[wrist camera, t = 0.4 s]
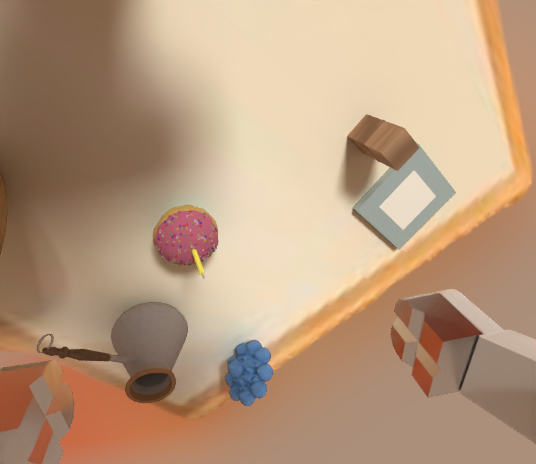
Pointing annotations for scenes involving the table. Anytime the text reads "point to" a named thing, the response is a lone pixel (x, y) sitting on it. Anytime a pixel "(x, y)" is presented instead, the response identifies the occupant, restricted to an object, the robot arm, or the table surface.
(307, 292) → the table surface
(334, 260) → the table surface
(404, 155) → the walnut block
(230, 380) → the grapes
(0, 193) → the plant pot
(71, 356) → the coffee pot
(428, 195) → the plate
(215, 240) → the cupcake
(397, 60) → the table surface
